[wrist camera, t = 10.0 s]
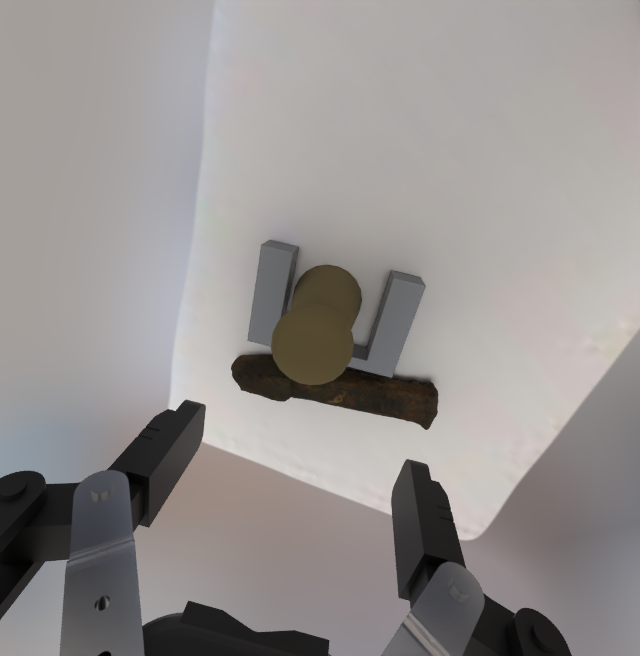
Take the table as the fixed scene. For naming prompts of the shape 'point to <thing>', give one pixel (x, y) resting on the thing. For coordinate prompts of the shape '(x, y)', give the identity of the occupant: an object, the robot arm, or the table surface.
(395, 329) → the u-shaped block
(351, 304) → the olive flared cylinder
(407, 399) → the dark brown long rod
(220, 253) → the table surface
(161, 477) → the robot arm
